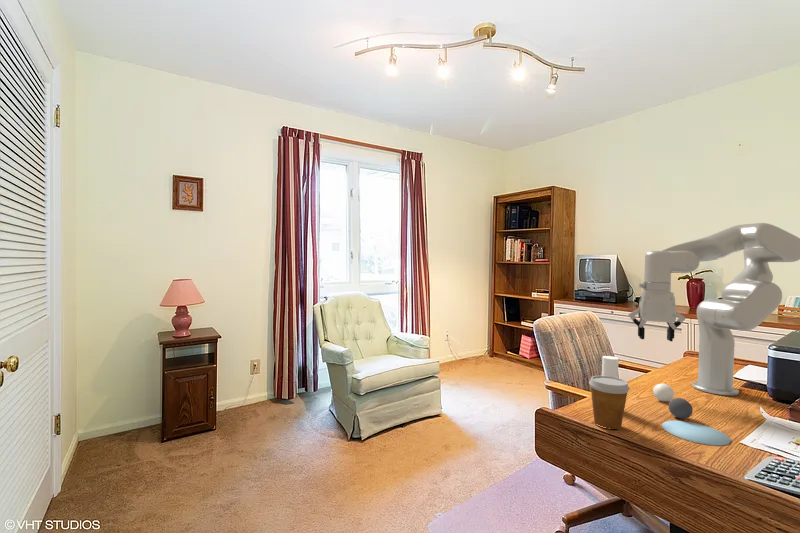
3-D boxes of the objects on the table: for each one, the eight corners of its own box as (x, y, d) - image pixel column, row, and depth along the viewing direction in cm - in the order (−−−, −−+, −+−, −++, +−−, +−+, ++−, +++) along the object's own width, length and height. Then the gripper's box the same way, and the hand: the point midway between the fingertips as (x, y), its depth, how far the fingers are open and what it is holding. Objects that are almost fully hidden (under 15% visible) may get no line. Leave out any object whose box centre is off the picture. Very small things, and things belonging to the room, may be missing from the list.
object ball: (673, 412, 114) (674, 393, 113) (695, 419, 109) (696, 399, 109) (664, 416, 111) (665, 397, 111) (686, 423, 106) (687, 403, 106)
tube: (619, 410, 114) (620, 359, 114) (603, 409, 115) (604, 358, 115) (614, 405, 118) (615, 356, 118) (598, 404, 119) (600, 355, 119)
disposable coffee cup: (621, 420, 107) (622, 376, 107) (633, 435, 98) (635, 387, 98) (583, 416, 109) (585, 373, 109) (592, 430, 100) (594, 384, 100)
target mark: (676, 417, 110) (676, 416, 110) (739, 437, 98) (739, 436, 98) (651, 428, 102) (651, 427, 102) (716, 450, 91) (716, 449, 91)
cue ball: (658, 397, 127) (658, 380, 127) (677, 402, 122) (677, 385, 122) (649, 399, 124) (650, 382, 124) (668, 405, 119) (669, 387, 119)
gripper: (630, 287, 131) (629, 339, 131) (692, 289, 125) (690, 344, 126) (625, 286, 138) (623, 335, 138) (683, 288, 132) (681, 339, 133)
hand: (655, 339), depth 132 cm, fingers open, 7 cm apart
